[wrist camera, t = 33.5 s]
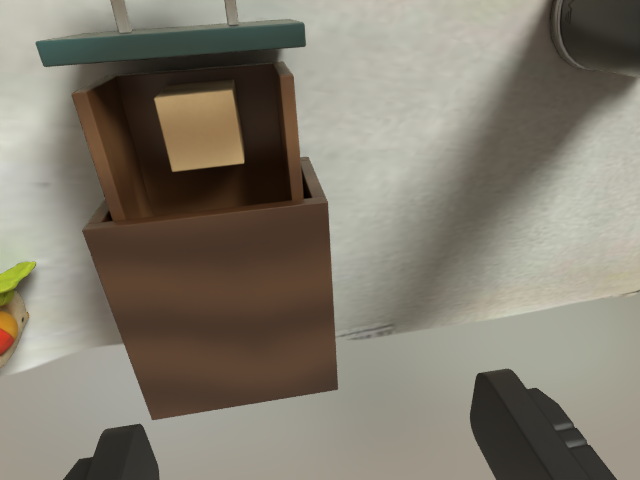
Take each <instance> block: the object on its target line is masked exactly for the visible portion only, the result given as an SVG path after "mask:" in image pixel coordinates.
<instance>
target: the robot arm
mask: <svg viewBox="0 0 640 480" xmlns="http://www.w3.org/2000/svg"><path fill="white" fill-rule="evenodd" d="M551 34H552V39H553V42H554V45H555V47H556V49H557V51H558V53H559V54H560V56H561V57H562V58H563V59H564V60H565V61H566V62H568V63H569V64H571V65H572V66H575V67H577V68H581V69H586V70H592V71H606V72H611V73H616V74H621V75H627V76H632V77H638V78H640V0H554V1H553V5H552V10H551ZM470 422H471V428H472V431H473V434H474V437H475V439H476V441H477V444H478V446H479V447H480V449H481V451H482V453H483V455H484V457H485V459H486V461H487V463H488V465H489V467H490V469H491V470H492V472H493V474H494V476H495V478H496V480H617V479H616V478H615V477H614V475H613V474H612V473H611V472H610V470H609V469H608V468H607V466H606V465H605V464H604V463H603V461H602V460H601V459H600V457H599V456H598V455H597V453H596V452H595V451H594V450H593V448H592V447H591V446H590V445H588V444H587V441H586V439H585V438H584V437H583V435H582V434H581V433H580V431H579V430H578V429H577V428H575V427H574V424H573V422H572V421H571V420H570V419H569V418H568V416H567V415H566V414H565V412H564V411H563V410H562V408H561V407H560V406H559V404H558V403H556V402H555V401H554V400H552V399H551V398H549V397H548V396H547V395H546V394H544V393H543V392H541V391H540V390H539V389H537V388H532V389H526V388H525V386H524V385H523V383H522V382H521V381H520V379H519V378H518V377H517V375H516V374H515V373H514V372H513V371H512V370H510V369H502V370H495V371H490V372H483V373H478V374H477V376H476V380H475V387H474V393H473V399H472V405H471V411H470ZM63 480H159V469H158V464H157V461H156V459H155V456H154V454H153V451H152V448H151V446H150V443H149V440H148V438H147V435H146V433H145V430H144V428H143V426H142V425H141V424H136V425H129V426H123V427H117V428H111V429H106V430H104V431H103V433H102V434H101V436H100V439H99V442H98V444H97V447H96V450H95V453H94V456H93V457H90V458H84V459H79V460H78V461H77V463H76V464H75V465H74V467H73V468H72V469H71V470H70V472H69V473H68V474H67V475H66V477H65V478H64V479H63Z"/></svg>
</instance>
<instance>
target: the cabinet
mask: <svg viewBox="0 0 640 480" xmlns="http://www.w3.org/2000/svg"><path fill="white" fill-rule="evenodd" d="M300 161H301V173H302V185H303V197H304V199H300V200H291V201H283V202H274V203H266V204H257V205H248V206H240V207H231V208H222V209H214V210H205V211H197V212H188V213H179V214H171V215H162V216H153V217H145V218H136V219H128V220H119V221H113V220H112V217H111V214H110V211H109V208H108V205H107V202H106V199H105V200H104V201H103V203H102V204H101V206H100V207H99V208H98V210H97V211H96V212H95V214H94V215H93V217H92V218H91V219H90V221H89V222H88V223H87V225H86V226H85V227H84V229H83V230H82V232H83V234H84V237H85V240H86V242H87V245H88V248H89V250H90V253H91V256H92V259H93V261H94V264H95V267H96V269H97V272H98V275H99V278H100V280H101V283H102V286H103V288H104V291H105V294H106V296H107V299H108V302H109V305H110V307H111V310H112V313H113V315H114V318H115V321H116V323H117V326H118V329H119V332H120V334H121V337H122V340H123V342H124V345H125V347H126V350H127V353H128V356H129V359H130V361H131V364H132V367H133V369H134V372H135V375H136V378H137V380H138V383H139V386H140V388H141V391H142V394H143V396H144V399H145V402H146V405H147V407H148V410H149V412H150V415H151V418H152V420H157V419H163V418H168V417H175V416H181V415H187V414H193V413H199V412H205V411H211V410H217V409H223V408H229V407H235V406H241V405H247V404H254V403H259V402H265V401H272V400H278V399H284V398H289V397H296V396H302V395H308V394H314V393H320V392H326V391H332V390H337V389H338V380H337V362H336V343H335V325H334V306H333V288H332V270H331V251H330V233H329V214H328V201H327V199H326V197H325V194H324V192H323V190H322V187H321V185H320V183H319V180H318V178H317V176H316V173H315V171H314V169H313V166H312V164H311V162H310V160H309V157H301V158H300Z"/></svg>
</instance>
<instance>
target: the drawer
mask: <svg viewBox="0 0 640 480" xmlns="http://www.w3.org/2000/svg"><path fill="white" fill-rule="evenodd" d="M224 1H225V8H226V15H227V21H228V23H227V24H213V25H199V26H185V27H171V28H157V29H142V30H131V26H130V22H129V18H128V14H127V9H126V5H125V1H124V0H111V4H112V8H113V12H114V16H115V20H116V24H117V28H118V31H114V32H100V33H86V34H79V35H73V36H67V37H60V38H54V39H48V40H42V41H37V42H36V46H37V49H38V52H39V55H40V58H41V60H42V63H43V66H44V67H51V66H64V65H77V64H90V63H103V62H116V61H129V60H141V59H154V58H167V57H180V56H193V55H206V54H218V53H231V52H244V51H257V50H270V49H283V48H296V47H305V46H306V40H305V25H304V23H303V22H299V21H295V20H291V19H284V20H270V21H256V22H242V23H239V22H238V15H237V8H236V0H224ZM229 79H234V82H235V88H236V94H237V101H238V107H239V113H240V119H241V126H242V132H243V138H244V164H237V165H229V166H220V167H212V168H203V169H195V170H186V171H178V172H172V169H171V165H170V161H169V157H168V153H167V149H166V145H165V141H164V137H163V133H162V129H161V126H160V122H159V118H158V114H157V110H156V106H155V102H154V98H155V97H156V96H157V95H158V94H159V93H160V92H161V91H162V90H163V89H164V88H165V87H166V86H168V85H178V84H188V83H199V82H209V81H219V80H229ZM72 98H73V101H74V104H75V107H76V110H77V113H78V116H79V119H80V122H81V125H82V128H83V131H84V134H85V138H86V141H87V144H88V147H89V150H90V153H91V156H92V159H93V162H94V165H95V168H96V171H97V174H98V177H99V180H100V183H101V187H102V190H103V193H104V196H105V199H106V202H107V205H108V208H109V211H110V214H111V217H112V220H113V221H119V220H128V219H136V218H145V217H153V216H162V215H171V214H179V213H188V212H197V211H205V210H214V209H222V208H231V207H240V206H248V205H257V204H266V203H274V202H283V201H291V200H300V199H304V197H303V185H302V173H301V161H300V149H299V137H298V125H297V113H296V101H295V89H294V77H293V75H292V73H291V72H290V70H289V69H288V68H287V66H286V65H285V63H284V62H271V63H259V64H246V65H234V66H222V67H209V68H197V69H185V70H172V71H160V72H148V73H135V74H123V75H111V76H106V77H104V78H102V79H100V80H98V81H96V82H94V83H92V84H90V85H88V86H86V87H84V88H82V89H80V90H78V91H76V92H74V93H72Z"/></svg>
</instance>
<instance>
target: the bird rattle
mask: <svg viewBox="0 0 640 480" xmlns="http://www.w3.org/2000/svg"><path fill="white" fill-rule="evenodd" d="M35 266H36V262H24V263H19V264H17V265H16V266H15V267H13V268H11V269H9V270H7V271H5V272H4V273H2V274H0V368H2V367H3V366H4V364H5V363H6V362H7V361H8V360H9V358H10V357H11V355H12V354H13V352H14V350H15V348H16V346H17V344H18V342H19V339H20V337H21V333H22V330H23V327H24V324H25V323H26V321H27V320H28V318H29V314H28V312H27V311H25V307H24V303H23V300H22V298H21V296H20V295H19V294H18V292H17V291H16V290H14V288H15V287H16V286H17V285H18V283H19V282H20V281H21V280H22V279H23V278H24V277H26V276H27V275H28V274H29V273H30V272H31V271H32V270H33V269H34V268H35Z"/></svg>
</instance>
